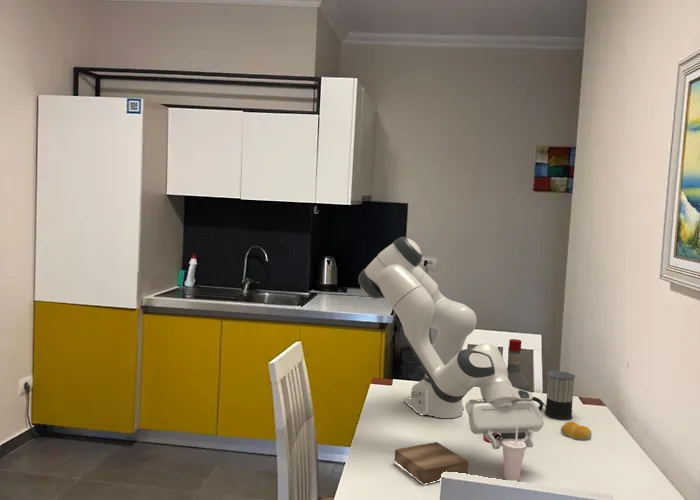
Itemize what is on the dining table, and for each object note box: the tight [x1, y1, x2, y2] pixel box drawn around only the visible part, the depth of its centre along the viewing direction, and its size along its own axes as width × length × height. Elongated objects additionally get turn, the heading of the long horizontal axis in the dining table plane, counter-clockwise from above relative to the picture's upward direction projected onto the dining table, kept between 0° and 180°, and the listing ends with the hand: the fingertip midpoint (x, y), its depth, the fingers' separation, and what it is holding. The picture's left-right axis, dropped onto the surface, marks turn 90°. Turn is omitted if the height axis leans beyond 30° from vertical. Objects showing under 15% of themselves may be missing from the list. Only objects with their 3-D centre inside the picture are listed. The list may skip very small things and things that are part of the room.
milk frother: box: [532, 370, 576, 421], centre depth 218 cm, size 14×16×15 cm
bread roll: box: [560, 421, 592, 441], centre depth 198 cm, size 8×9×4 cm
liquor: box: [500, 338, 531, 440], centre depth 196 cm, size 9×9×30 cm
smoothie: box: [500, 427, 527, 482], centre depth 164 cm, size 6×6×14 cm
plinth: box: [394, 441, 469, 485], centre depth 168 cm, size 14×14×4 cm
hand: (513, 447), depth 164 cm, fingers open, 8 cm apart
